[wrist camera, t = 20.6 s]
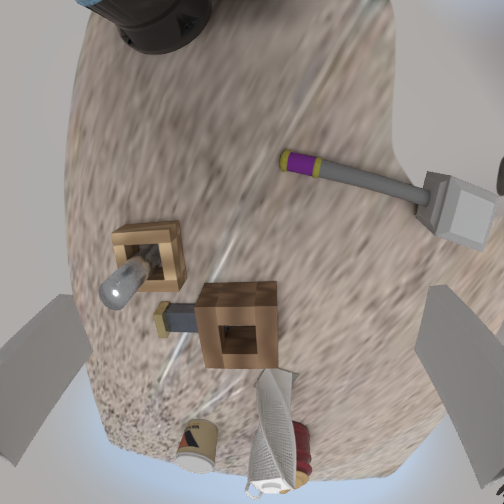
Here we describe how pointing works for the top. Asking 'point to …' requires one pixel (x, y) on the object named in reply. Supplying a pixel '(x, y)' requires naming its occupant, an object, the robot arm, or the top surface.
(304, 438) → the canister
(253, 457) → the skyscraper
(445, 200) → the hammer
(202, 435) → the coffee cup
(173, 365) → the top surface
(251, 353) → the socket block
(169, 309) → the bar
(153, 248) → the metal rod in cradle
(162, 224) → the wooden square frame
